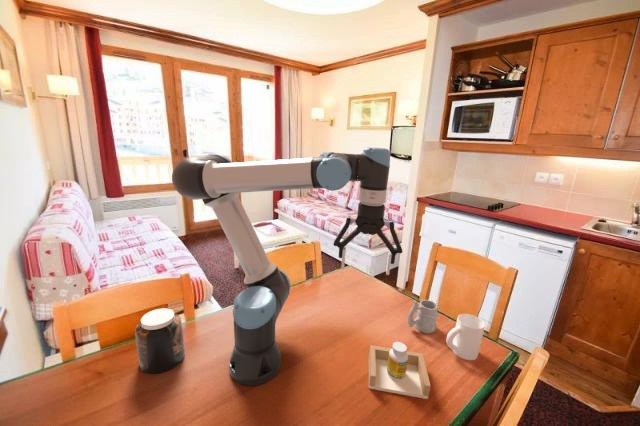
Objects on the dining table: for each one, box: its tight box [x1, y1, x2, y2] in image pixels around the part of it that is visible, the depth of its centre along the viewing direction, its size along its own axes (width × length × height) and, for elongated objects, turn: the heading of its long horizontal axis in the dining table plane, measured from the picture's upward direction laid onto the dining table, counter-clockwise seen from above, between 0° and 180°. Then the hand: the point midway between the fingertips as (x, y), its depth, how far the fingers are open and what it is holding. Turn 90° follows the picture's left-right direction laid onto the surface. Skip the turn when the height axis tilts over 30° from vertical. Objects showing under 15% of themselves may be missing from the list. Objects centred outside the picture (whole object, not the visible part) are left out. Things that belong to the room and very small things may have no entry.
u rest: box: [368, 344, 431, 400], centre depth 83 cm, size 16×12×4 cm
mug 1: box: [406, 299, 439, 334], centre depth 105 cm, size 8×12×12 cm, turn 105°
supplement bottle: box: [387, 341, 408, 380], centre depth 83 cm, size 5×5×10 cm
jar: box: [134, 307, 185, 375], centre depth 84 cm, size 12×12×15 cm
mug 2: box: [445, 313, 486, 361], centre depth 93 cm, size 8×12×12 cm
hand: (364, 270), depth 87 cm, fingers open, 13 cm apart
